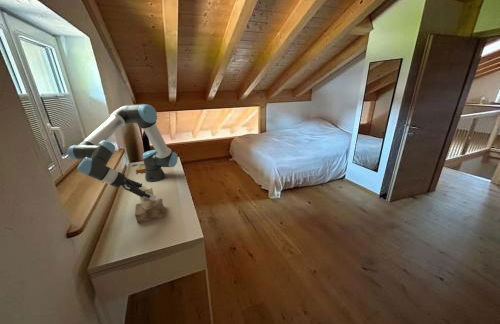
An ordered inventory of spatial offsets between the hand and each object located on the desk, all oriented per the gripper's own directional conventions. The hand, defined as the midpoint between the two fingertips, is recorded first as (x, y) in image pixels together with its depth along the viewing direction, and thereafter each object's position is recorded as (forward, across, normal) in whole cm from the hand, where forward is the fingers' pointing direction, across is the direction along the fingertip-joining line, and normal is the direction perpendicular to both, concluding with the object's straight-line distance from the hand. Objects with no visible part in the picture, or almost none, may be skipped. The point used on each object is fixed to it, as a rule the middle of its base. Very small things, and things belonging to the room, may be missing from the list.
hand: (152, 195), depth 122 cm
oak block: (+2, 0, -7) cm, 7 cm away
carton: (+14, -81, -4) cm, 82 cm away
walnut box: (+6, 0, -11) cm, 13 cm away
